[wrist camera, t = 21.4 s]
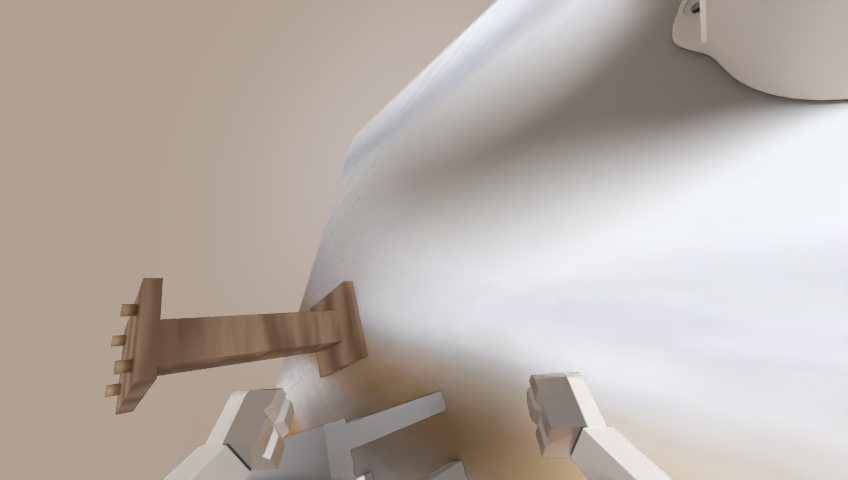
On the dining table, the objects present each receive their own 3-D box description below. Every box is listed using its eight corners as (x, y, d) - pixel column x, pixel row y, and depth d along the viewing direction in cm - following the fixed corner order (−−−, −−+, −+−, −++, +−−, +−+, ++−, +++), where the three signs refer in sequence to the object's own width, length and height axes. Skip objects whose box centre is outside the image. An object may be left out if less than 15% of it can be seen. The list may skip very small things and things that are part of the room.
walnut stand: (358, 276, 51) (128, 268, 31) (375, 351, 46) (113, 397, 26) (313, 312, 60) (112, 323, 41) (322, 378, 55) (99, 427, 36)
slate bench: (443, 385, 37) (323, 424, 26) (473, 487, 32) (346, 585, 22) (351, 415, 48) (242, 451, 37) (365, 494, 44) (247, 560, 33)
